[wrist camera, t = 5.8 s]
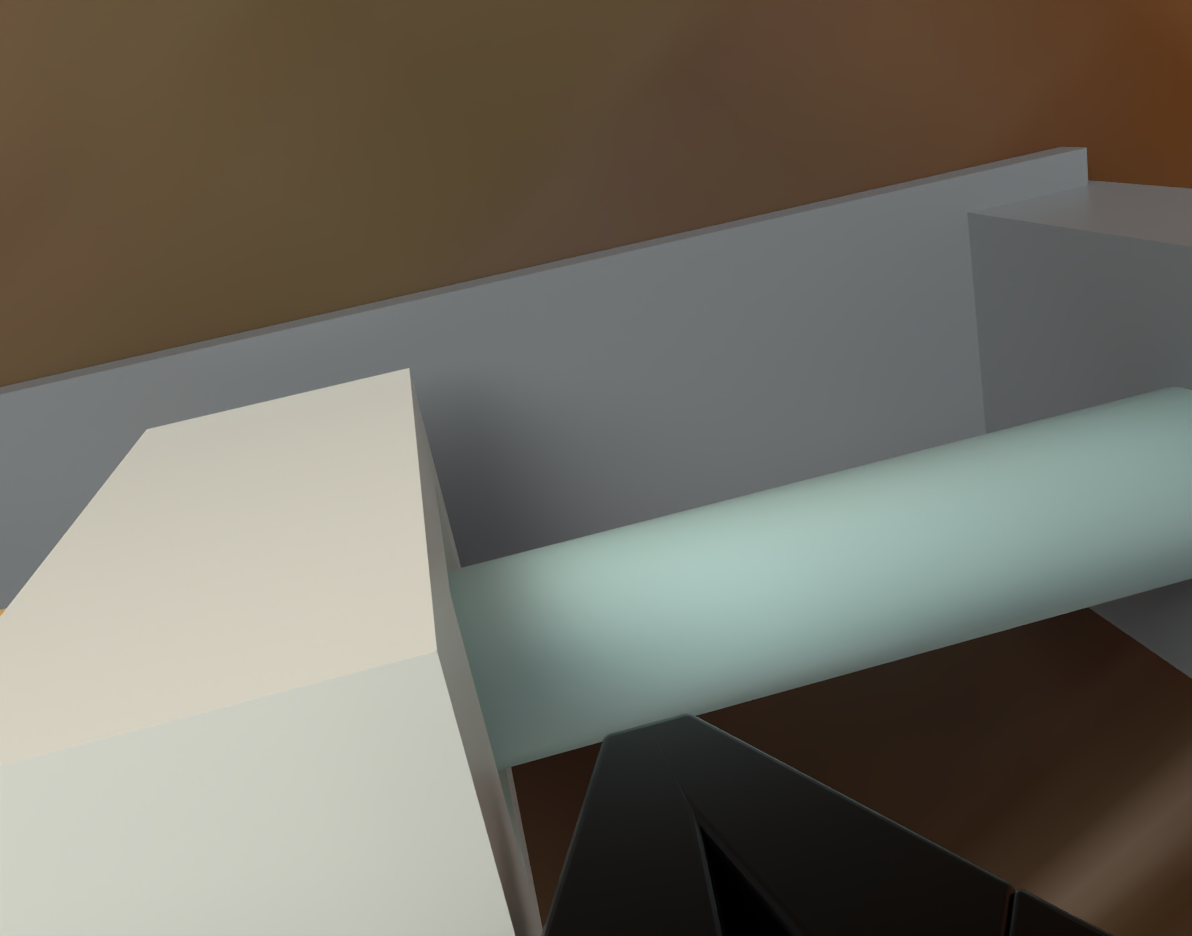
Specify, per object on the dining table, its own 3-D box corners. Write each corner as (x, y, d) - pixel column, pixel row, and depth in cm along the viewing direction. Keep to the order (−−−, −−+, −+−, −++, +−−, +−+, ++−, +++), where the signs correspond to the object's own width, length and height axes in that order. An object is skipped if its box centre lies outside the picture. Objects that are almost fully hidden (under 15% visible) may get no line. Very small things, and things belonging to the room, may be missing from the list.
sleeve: (409, 368, 13) (436, 651, 6) (504, 736, 14) (613, 1292, 8) (146, 428, 12) (-149, 803, 6) (274, 799, 14) (170, 1439, 7)
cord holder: (1073, 144, 16) (1533, 157, 9) (1094, 528, 18) (1486, 751, 11) (-323, 460, 14) (-927, 746, 7) (-126, 854, 16) (-469, 1347, 9)
